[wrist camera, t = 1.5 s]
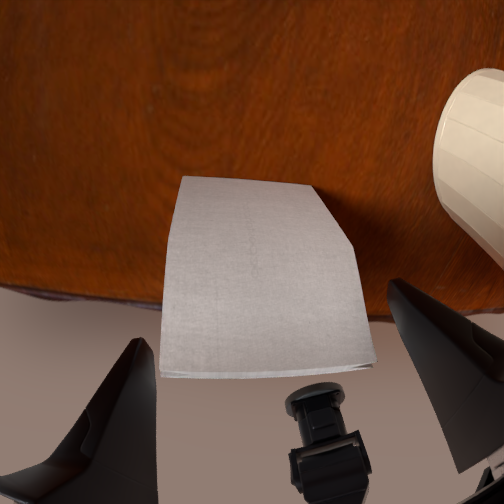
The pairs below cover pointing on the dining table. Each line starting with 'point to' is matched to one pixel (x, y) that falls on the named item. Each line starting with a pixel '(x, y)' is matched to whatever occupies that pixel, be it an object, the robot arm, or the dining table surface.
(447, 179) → the holder
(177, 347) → the tea bag
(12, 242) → the dining table surface
